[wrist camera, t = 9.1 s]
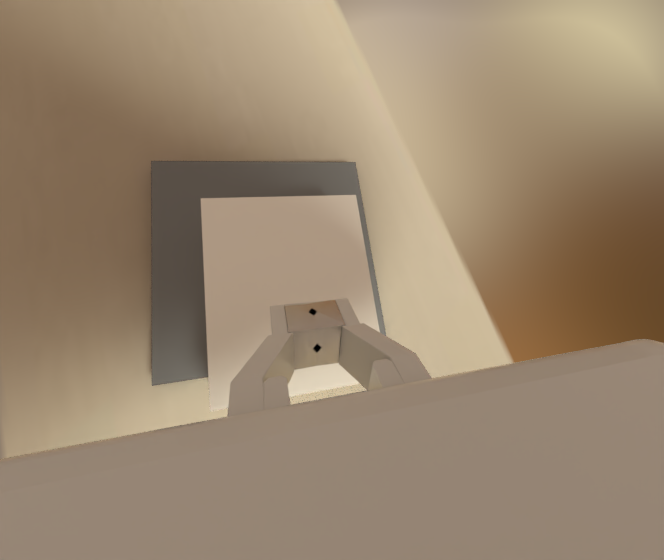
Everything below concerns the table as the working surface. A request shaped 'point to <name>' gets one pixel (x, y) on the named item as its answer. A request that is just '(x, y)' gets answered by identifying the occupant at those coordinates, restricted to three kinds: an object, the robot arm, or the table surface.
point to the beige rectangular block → (278, 277)
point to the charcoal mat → (187, 246)
